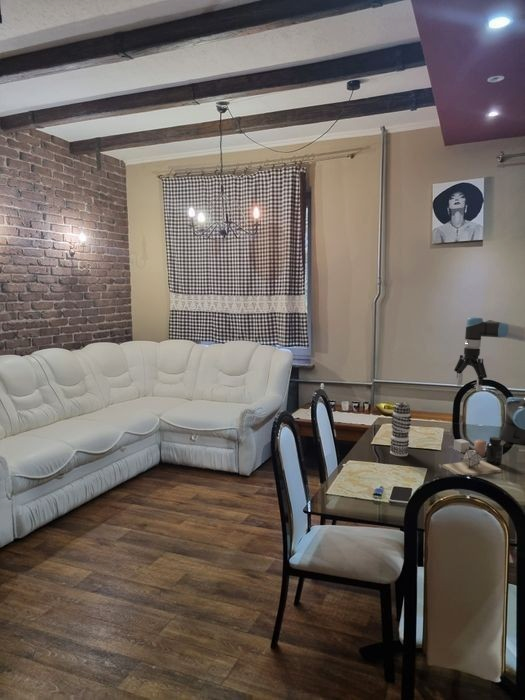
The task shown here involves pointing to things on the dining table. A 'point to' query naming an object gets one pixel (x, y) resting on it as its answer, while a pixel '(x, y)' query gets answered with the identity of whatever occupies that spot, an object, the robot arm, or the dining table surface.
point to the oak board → (471, 468)
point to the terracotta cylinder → (480, 447)
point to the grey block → (461, 445)
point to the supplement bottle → (494, 451)
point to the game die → (472, 458)
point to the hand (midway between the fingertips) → (468, 388)
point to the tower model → (400, 429)
